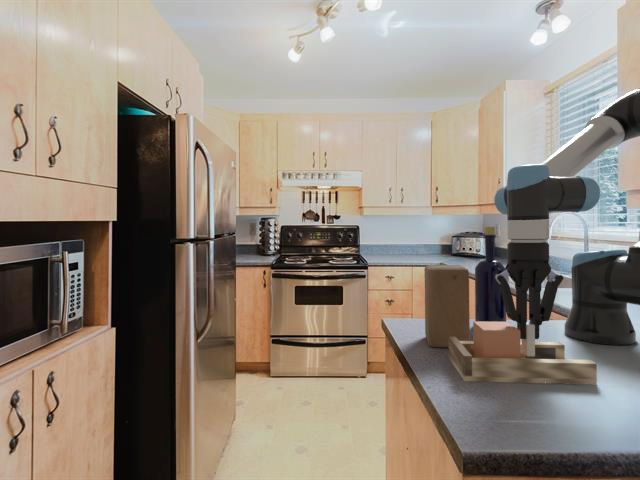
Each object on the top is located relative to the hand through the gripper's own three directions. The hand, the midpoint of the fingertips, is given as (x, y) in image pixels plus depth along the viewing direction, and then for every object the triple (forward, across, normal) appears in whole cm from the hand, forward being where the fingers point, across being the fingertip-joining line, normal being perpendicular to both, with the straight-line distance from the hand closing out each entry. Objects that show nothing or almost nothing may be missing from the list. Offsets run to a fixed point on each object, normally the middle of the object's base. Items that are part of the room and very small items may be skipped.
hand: (528, 354), depth 76 cm
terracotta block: (+2, +6, 0) cm, 7 cm away
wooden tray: (+3, +3, 0) cm, 4 cm away
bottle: (+4, -3, -33) cm, 33 cm away
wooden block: (+4, +13, -18) cm, 22 cm away
